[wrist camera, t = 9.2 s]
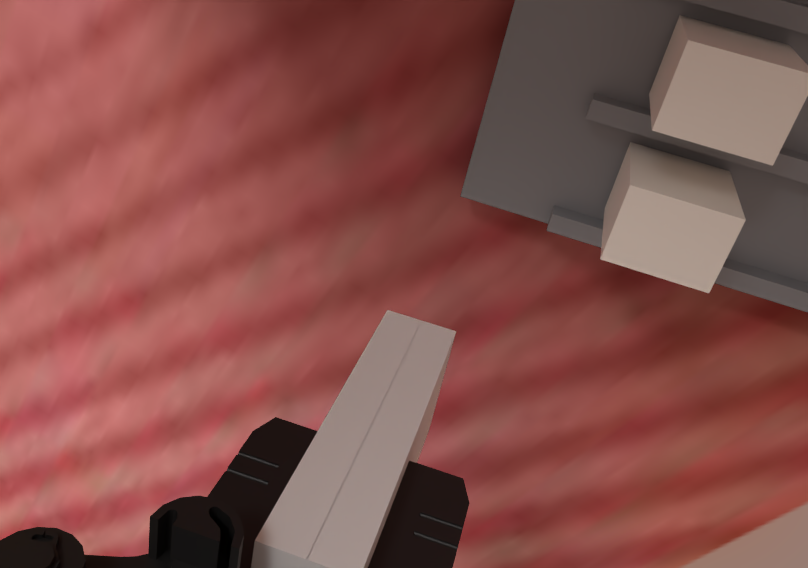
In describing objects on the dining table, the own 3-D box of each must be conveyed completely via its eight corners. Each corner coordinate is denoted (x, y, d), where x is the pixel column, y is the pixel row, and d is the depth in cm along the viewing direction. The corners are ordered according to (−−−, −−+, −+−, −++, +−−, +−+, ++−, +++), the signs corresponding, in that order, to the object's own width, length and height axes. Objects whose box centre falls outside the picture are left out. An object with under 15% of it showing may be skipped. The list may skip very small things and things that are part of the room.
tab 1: (649, 93, 30) (651, 130, 25) (679, 15, 28) (688, 40, 24) (752, 123, 29) (772, 165, 25) (789, 45, 28) (817, 76, 23)
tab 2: (604, 208, 32) (600, 259, 28) (630, 142, 31) (630, 184, 26) (698, 237, 32) (709, 293, 27) (729, 171, 30) (746, 219, 26)
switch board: (466, 184, 35) (449, 216, 32) (582, -226, 27) (574, -240, 24) (913, 322, 33) (943, 371, 30) (1186, -81, 25) (1269, -75, 21)
